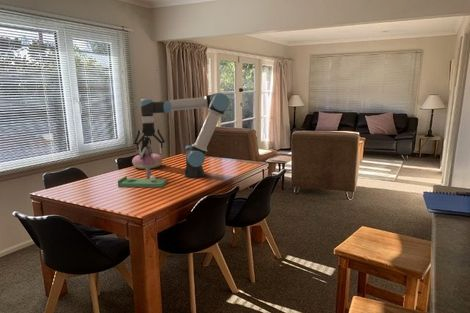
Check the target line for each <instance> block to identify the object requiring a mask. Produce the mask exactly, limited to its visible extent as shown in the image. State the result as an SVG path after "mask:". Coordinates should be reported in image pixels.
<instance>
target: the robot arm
mask: <svg viewBox="0 0 470 313" xmlns="http://www.w3.org/2000/svg"><path fill="white" fill-rule="evenodd" d="M229 106H230V99H229V97H228V96H227V95H226V94H225V93H223V92H217V93H212V94H209V95H204V96H201V97H191V98H179V99H178V98H177V99H169V100H160V101H153V98H141V100H140V110H141V111H140V112H141V113H140V114H141V122H142V124H141V125H142V130H140V129H138V131H137V135H136V137H135V140H134V142H133V144H134V145H136V147H137V150H138V155H141V149H142V148H141V144H140V143H142V139H143V138H144V137H147V136H148V137H153V138H154V139H155V140H156V141H158V142H159V154H162V149H163V145H164V143H165V142H166V140H165V139H164V137H163V135H162V134H161V132H160V129H159V128H158V129H156V128H155V123H154V121H155V120H154V114H163V113H164V114H169V113H171V112H172V111H174V112H175V111H183V110H194V109H204V108H205V109H206V110H208V113H207V114H206V118H205V119H204V122H203V124H202V127H201V128H200V131H199V134H198V136H197V138H196V141H195V142H194V143H193V144H190V145H186V146H185V163H186V164H185V170H184V172H183V174H184V175H183V176H184V177H185V178H189V179H190V178H191V179H197V178H202V177H205V175H206V174H205V170H204V168H203V165H204V163H205V160H206V155H207V153H208V149H207V148H208V145H209V143H210V141H211V138H212V136H213V134H214V132H215V129H216V127H217V125H218V123H219V121H220V118H221V117H222V116H224V115H225V111H226V110H227V109H228V108H229ZM142 133H143V134H142ZM155 133H157V134H158V136H159V137H160V138H159V137H158V136H157V135H156V134H155ZM140 134H142V136H141V138H139V136H140Z"/></svg>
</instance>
